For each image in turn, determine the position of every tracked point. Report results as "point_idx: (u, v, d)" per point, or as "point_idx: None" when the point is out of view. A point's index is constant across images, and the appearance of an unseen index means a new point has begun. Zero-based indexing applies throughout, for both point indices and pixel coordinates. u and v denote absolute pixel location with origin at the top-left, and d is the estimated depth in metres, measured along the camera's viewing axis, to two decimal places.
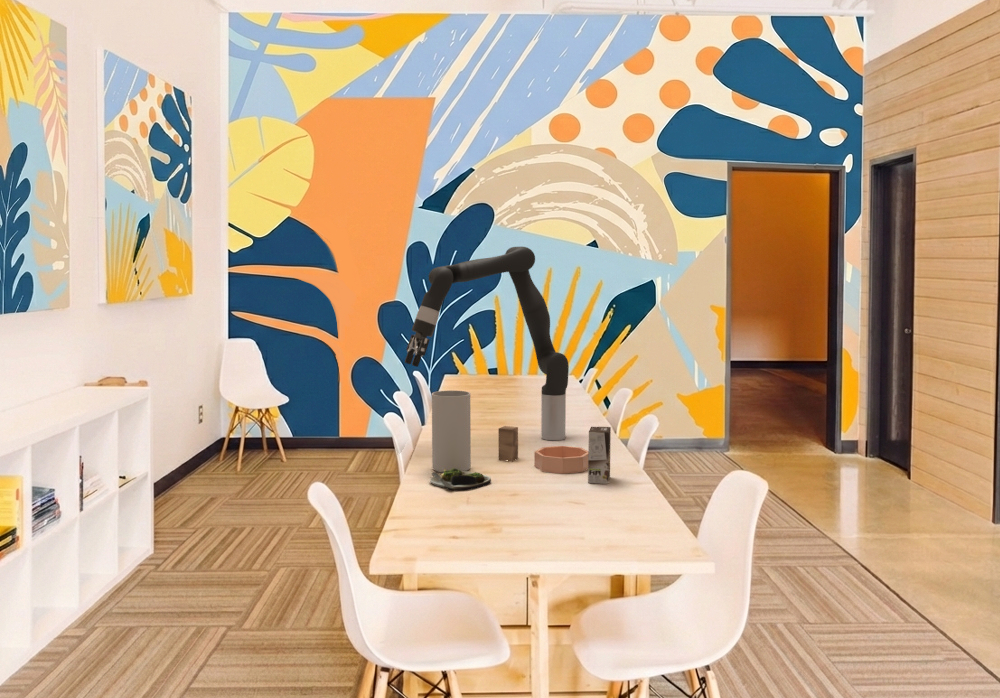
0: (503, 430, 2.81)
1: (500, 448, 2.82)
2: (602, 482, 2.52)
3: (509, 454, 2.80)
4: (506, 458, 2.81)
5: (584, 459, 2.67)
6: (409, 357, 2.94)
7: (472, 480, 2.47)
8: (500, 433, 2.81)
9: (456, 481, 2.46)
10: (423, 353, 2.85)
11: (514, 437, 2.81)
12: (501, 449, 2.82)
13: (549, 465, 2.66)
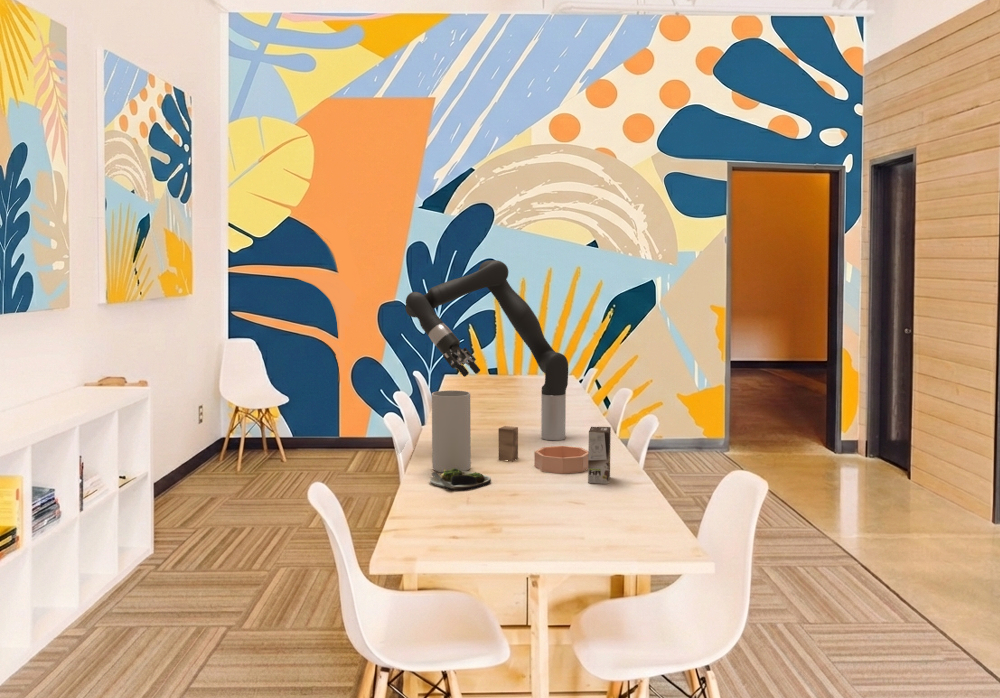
0: (503, 430, 2.81)
1: (500, 448, 2.82)
2: (602, 482, 2.52)
3: (509, 454, 2.80)
4: (506, 458, 2.81)
5: (584, 459, 2.67)
6: (473, 367, 2.91)
7: (472, 480, 2.47)
8: (500, 433, 2.81)
9: (456, 481, 2.46)
10: (454, 363, 2.81)
11: (514, 437, 2.81)
12: (501, 449, 2.82)
13: (549, 465, 2.66)
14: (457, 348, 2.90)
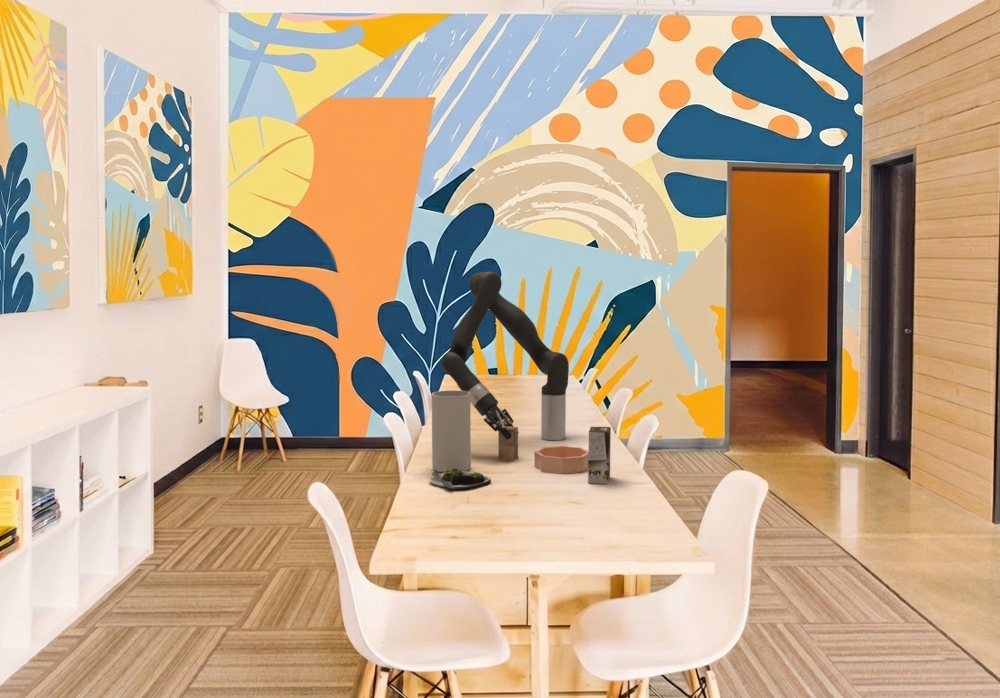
0: None
1: (500, 448, 2.82)
2: (602, 482, 2.52)
3: (509, 454, 2.80)
4: (506, 458, 2.81)
5: (584, 459, 2.67)
6: None
7: (472, 480, 2.47)
8: (500, 433, 2.81)
9: (456, 481, 2.46)
10: (497, 427, 2.78)
11: (514, 437, 2.81)
12: (501, 449, 2.82)
13: (549, 465, 2.66)
14: (495, 408, 2.85)
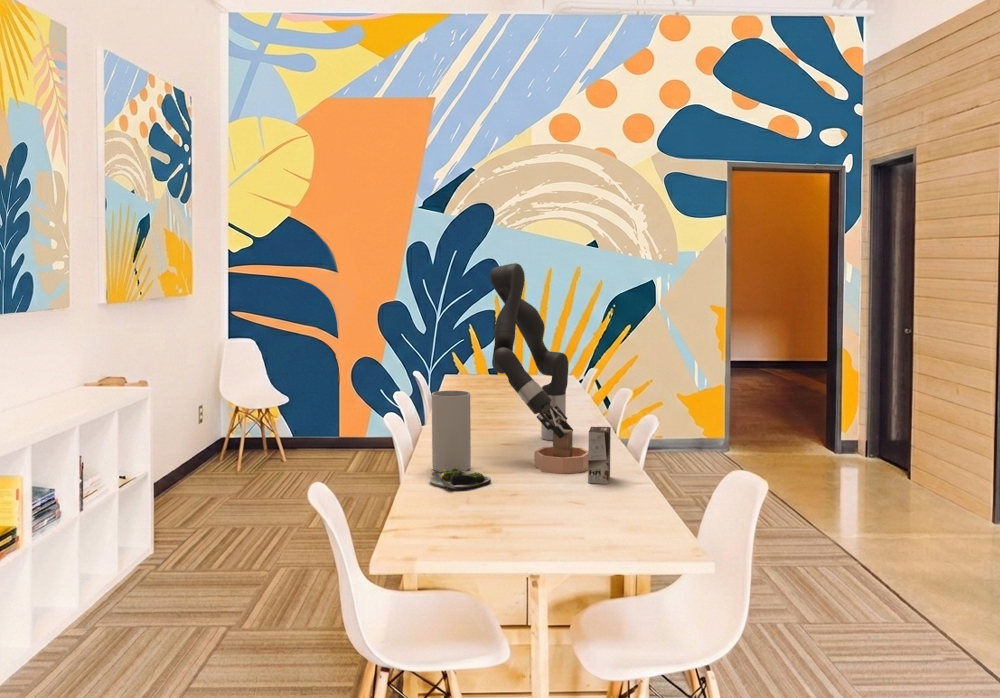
0: None
1: (555, 452, 2.71)
2: (602, 482, 2.52)
3: None
4: None
5: (584, 459, 2.67)
6: (566, 427, 2.75)
7: (472, 480, 2.47)
8: (555, 436, 2.71)
9: (456, 481, 2.46)
10: (550, 425, 2.67)
11: (569, 440, 2.71)
12: (555, 453, 2.71)
13: (549, 465, 2.66)
14: (549, 406, 2.75)
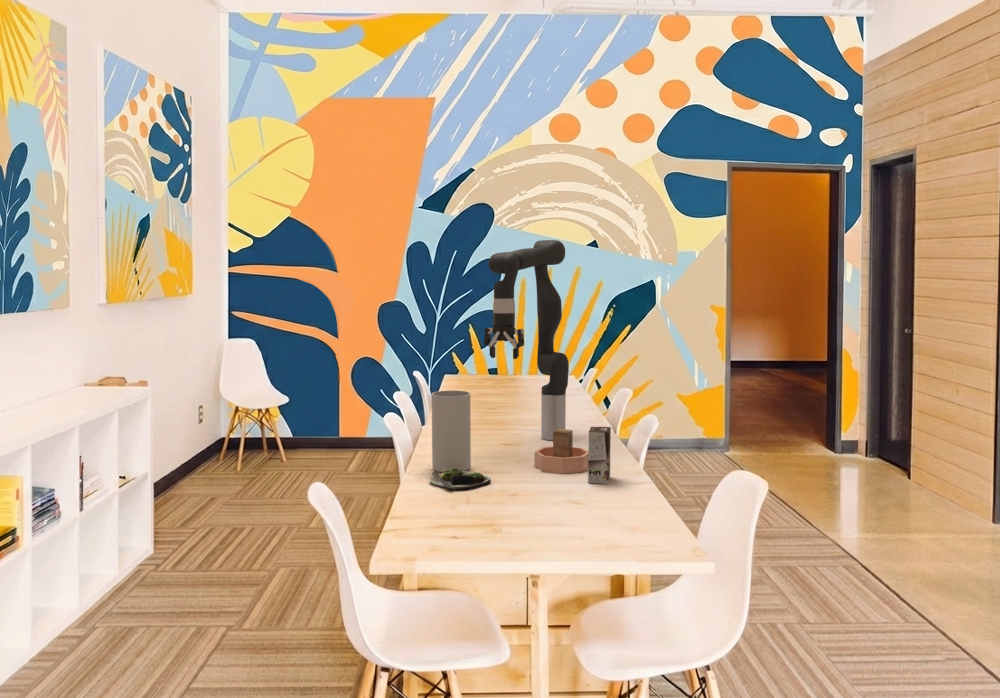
0: (558, 433, 2.70)
1: (555, 452, 2.71)
2: (602, 482, 2.52)
3: None
4: None
5: (584, 459, 2.67)
6: (493, 351, 2.88)
7: (472, 480, 2.47)
8: (555, 436, 2.71)
9: (456, 481, 2.46)
10: (523, 344, 2.83)
11: (569, 440, 2.71)
12: (555, 453, 2.71)
13: (549, 465, 2.66)
14: None
